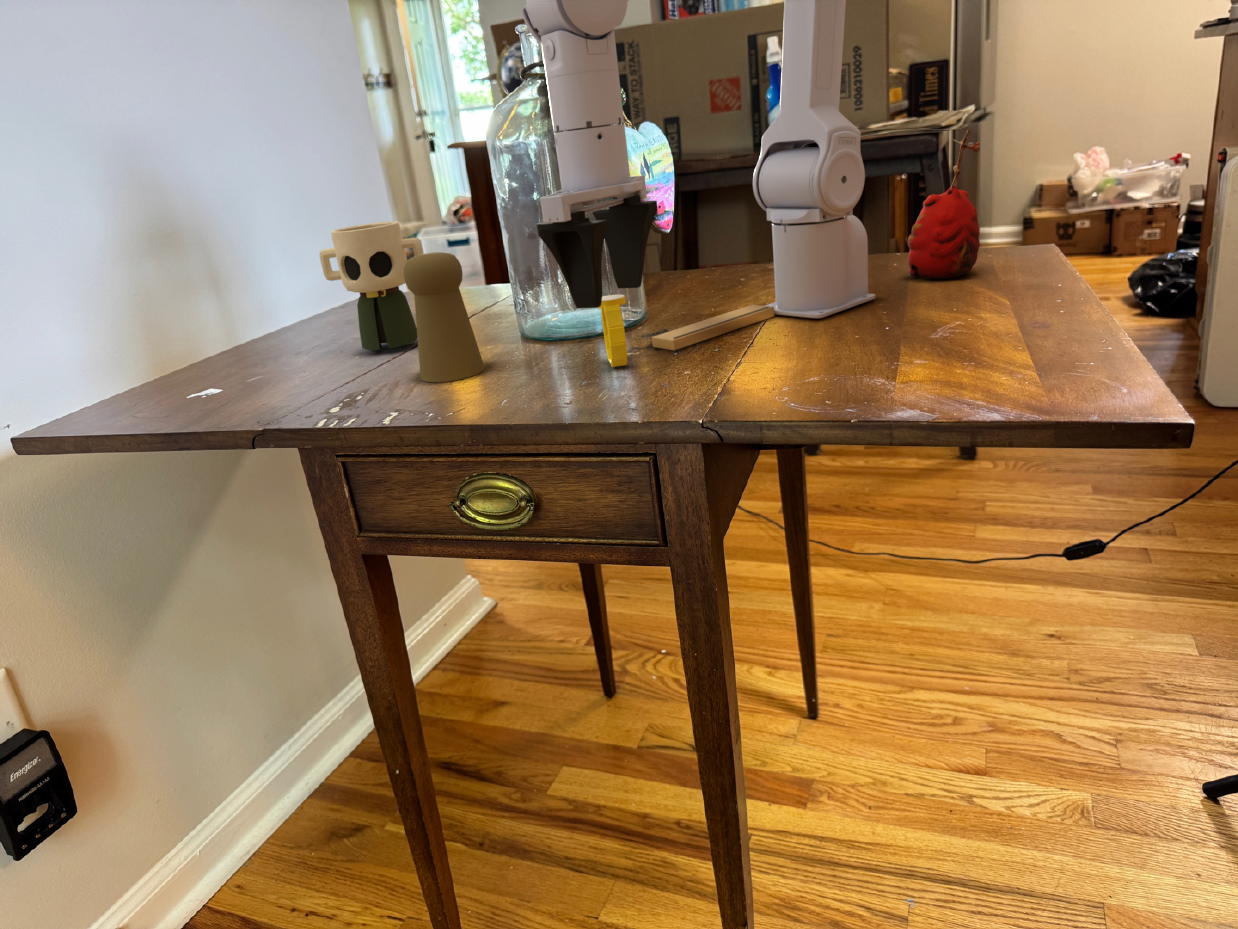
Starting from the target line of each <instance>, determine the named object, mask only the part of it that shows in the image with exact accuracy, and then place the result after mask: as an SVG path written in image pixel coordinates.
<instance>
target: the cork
mask: <svg viewBox="0 0 1238 929" xmlns="http://www.w3.org/2000/svg"><path fill="white" fill-rule="evenodd" d="M461 264H462V263H461V262H460V260H459V259H458V258H457V257H456V255H455V254H453V253H451V252H443V251H435V252H434V251H433V252H426V253H423V254H421V255H418V256H416V257H415V256H413V257H411V258H409V259H407V262H406V263H405V266H404V279H405V285H406V287H407V289H408V290H409V291H410V292H411V293H412V294H413V299H414V309H415V324H416V327H417V337H418V338H417V347H418V348H417V350H418V362H419V373H420V374H419V375H420V376H419V377H420V380H421V381H423V382H427V383H446V382H447V383H448V382H454V381H458V380H463V379H467V378H470V377H474V376H476V375H478V374H480V373H482V372H483V371H484V370H485V369H486V367H485V364H484V361H483V358H482V354H481V351H480V349H479V345H478V343H477V342H478V341H477V340H476V336H475V333H474V329H473V326H472V323H471V321H470V317H469V314H468V311H467V308H466V305H465V302H464V299H463V296H462V293H461V289H460V286H461V284H462V282H463V274H464V273H463V267H462V265H461Z"/></svg>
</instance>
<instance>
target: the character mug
mask: <svg viewBox="0 0 1238 929" xmlns="http://www.w3.org/2000/svg"><path fill="white" fill-rule="evenodd" d="M330 234H331V240H332V244H333V247H331V248H323V249H321V250H319V255H318V256H319V260H320V264H321V269H322V272H323V276H324V278H325V279H326V281H330V282H333V281H341V282H342V285H343V286H344V288H345V289H346V291H348V292H351V293H359V296H358V300H357V304H356V307H357V318H358V329H359V330H358V331H359V335H360V343H361V348H362V349H363V350H367V351H379V350H381V349H383V344H387V348H388V349H394V348H399V347H407V345H409V344H412V343H414V342H416V340H418V337H417V324H416V320H415V318H414V316H413V313H412V310H411V308H410V304H409V301H408V298H407V295H406V294H405V293H404V292H403V290H401V289H400V286H402V285H404V284H405V285H406V283H405V279H404V266H405V263H406V262H407V261H408V258H407V253H406V249H412V250H413V255H414V256H413V257H416V256H418V255H421V254H424V250H423V245H422V241H421V240H420V238H419V237H418V238H417V237H410V238H408V237H407V238H403V235H402V230H401V225H400V223H399V221H380V222H379V221H378V222H371V223H365V224H360V225H359V224H358V225H352V226H347V227H343V228H338V229H335V230H332V231H331V232H330ZM333 258H336V261H337V265H338V269H339V270H333V269H332V268H333V267H332V264H331V263H332V262H331V259H333Z"/></svg>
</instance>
